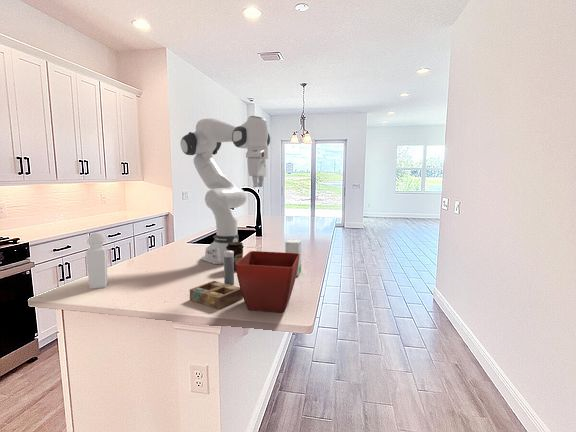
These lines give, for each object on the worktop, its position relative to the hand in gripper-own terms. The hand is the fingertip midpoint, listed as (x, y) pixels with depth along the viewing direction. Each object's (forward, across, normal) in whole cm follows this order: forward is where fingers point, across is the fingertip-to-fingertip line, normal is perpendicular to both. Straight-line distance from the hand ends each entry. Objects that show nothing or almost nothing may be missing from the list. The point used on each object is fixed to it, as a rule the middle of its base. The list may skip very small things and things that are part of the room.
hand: (258, 187), depth 140 cm
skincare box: (+41, -8, +14) cm, 44 cm away
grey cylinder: (+40, +10, -11) cm, 43 cm away
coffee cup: (+40, -11, -14) cm, 44 cm away
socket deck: (+40, +28, -10) cm, 50 cm away
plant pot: (+41, +30, +10) cm, 52 cm away
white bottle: (+40, +20, -62) cm, 77 cm away
